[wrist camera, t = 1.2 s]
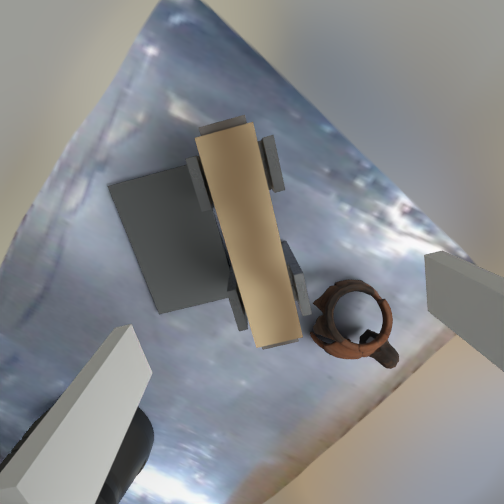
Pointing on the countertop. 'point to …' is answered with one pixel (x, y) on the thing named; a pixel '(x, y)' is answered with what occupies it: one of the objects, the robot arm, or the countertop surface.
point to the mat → (173, 239)
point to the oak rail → (249, 229)
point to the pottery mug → (369, 341)
